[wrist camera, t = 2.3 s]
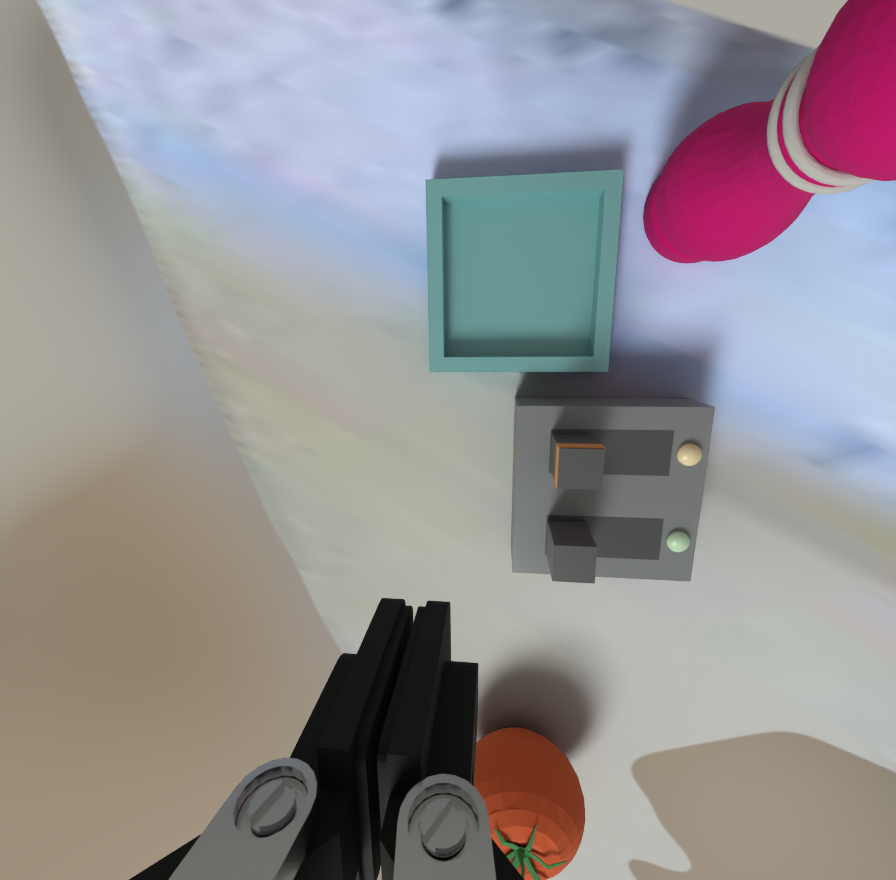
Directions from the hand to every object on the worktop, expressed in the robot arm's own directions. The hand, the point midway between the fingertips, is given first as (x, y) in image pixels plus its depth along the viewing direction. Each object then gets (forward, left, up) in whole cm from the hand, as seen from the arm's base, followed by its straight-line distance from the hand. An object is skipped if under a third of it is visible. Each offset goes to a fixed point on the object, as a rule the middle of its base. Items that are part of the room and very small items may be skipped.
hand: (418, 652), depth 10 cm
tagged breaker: (-7, 0, -19) cm, 20 cm away
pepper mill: (-14, -15, -23) cm, 31 cm away
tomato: (-4, +29, -23) cm, 37 cm away
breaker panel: (-9, +3, -23) cm, 25 cm away
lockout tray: (-3, -11, -23) cm, 26 cm away
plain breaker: (-7, +6, -19) cm, 21 cm away
